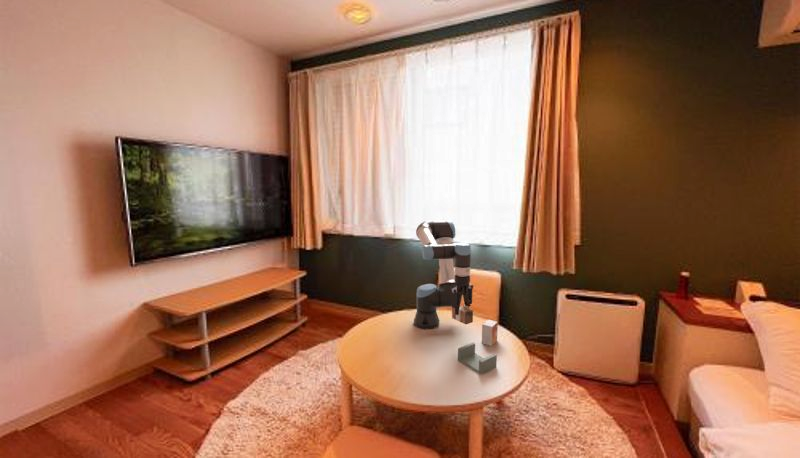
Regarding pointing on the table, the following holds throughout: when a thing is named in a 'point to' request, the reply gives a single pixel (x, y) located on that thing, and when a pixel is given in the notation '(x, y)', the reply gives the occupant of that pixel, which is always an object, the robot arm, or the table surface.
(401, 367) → the table surface
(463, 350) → the bracket
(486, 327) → the small box
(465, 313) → the rail end
